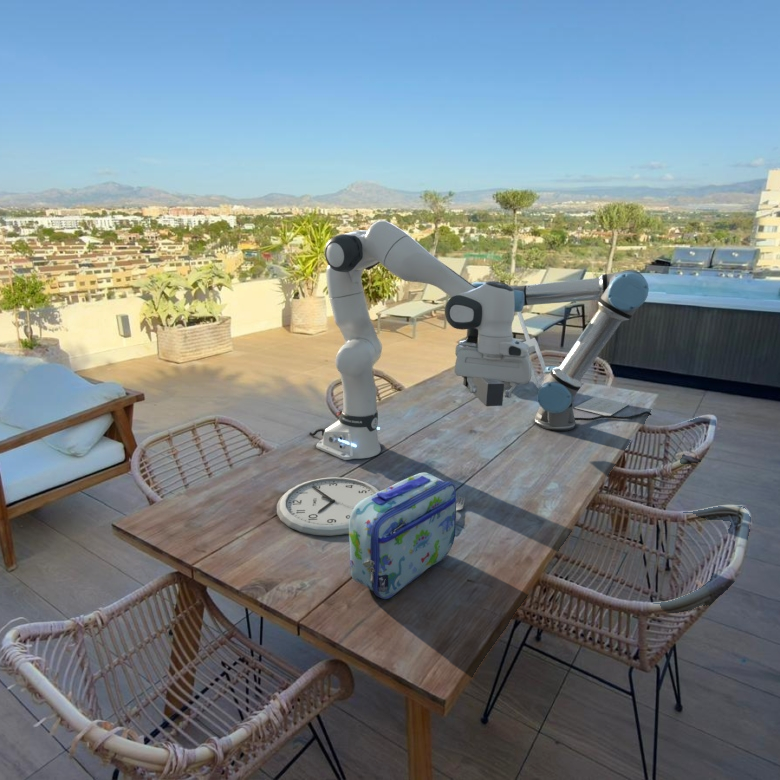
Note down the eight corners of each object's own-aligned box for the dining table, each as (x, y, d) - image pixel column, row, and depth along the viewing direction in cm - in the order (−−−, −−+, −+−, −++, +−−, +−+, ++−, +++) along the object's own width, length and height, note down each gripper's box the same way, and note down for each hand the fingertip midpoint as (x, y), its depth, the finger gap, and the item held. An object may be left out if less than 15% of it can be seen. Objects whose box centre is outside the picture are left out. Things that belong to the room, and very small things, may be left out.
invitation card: (608, 416, 214) (573, 407, 224) (608, 416, 214) (573, 408, 224) (628, 404, 229) (594, 396, 238) (628, 405, 229) (594, 397, 238)
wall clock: (392, 527, 129) (268, 531, 127) (391, 533, 130) (269, 537, 127) (383, 473, 158) (282, 475, 155) (383, 478, 158) (282, 480, 156)
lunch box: (377, 612, 103) (378, 518, 97) (342, 586, 111) (341, 497, 104) (459, 557, 121) (465, 475, 115) (425, 538, 128) (428, 460, 122)
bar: (463, 384, 203) (464, 364, 200) (477, 383, 203) (479, 364, 201) (486, 406, 178) (487, 384, 175) (502, 405, 179) (504, 383, 176)
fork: (441, 530, 132) (442, 523, 131) (456, 501, 146) (456, 494, 145) (451, 532, 131) (452, 525, 130) (465, 502, 145) (465, 496, 144)
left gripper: (452, 343, 138) (450, 393, 143) (531, 351, 131) (526, 403, 135) (459, 339, 144) (456, 387, 148) (535, 346, 137) (530, 396, 141)
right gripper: (455, 327, 188) (452, 388, 195) (505, 326, 191) (500, 387, 198) (450, 323, 195) (447, 383, 202) (498, 323, 198) (493, 381, 205)
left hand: (490, 394), depth 142 cm, fingers open, 8 cm apart
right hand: (473, 385), depth 200 cm, fingers closed on bar, 6 cm apart
